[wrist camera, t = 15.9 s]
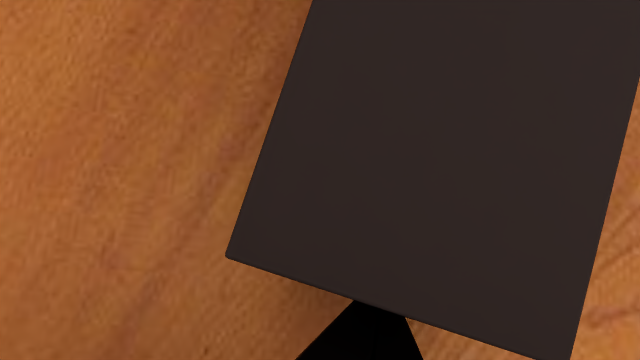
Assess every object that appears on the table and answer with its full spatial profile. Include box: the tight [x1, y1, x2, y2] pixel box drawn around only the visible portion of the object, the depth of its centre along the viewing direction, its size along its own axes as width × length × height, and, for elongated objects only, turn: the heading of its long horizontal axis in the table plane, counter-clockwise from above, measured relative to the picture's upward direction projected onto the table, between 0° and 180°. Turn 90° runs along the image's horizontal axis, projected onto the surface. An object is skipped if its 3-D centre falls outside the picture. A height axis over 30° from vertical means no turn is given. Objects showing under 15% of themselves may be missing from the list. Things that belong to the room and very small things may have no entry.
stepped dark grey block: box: [225, 0, 640, 360], centre depth 13 cm, size 9×5×9 cm, turn 162°
